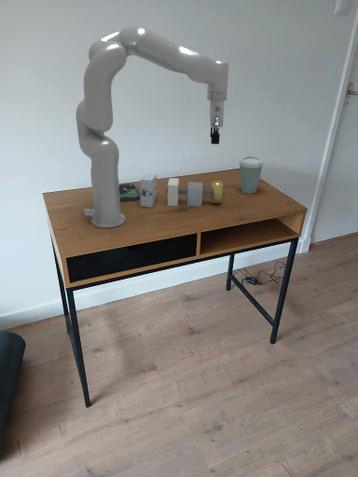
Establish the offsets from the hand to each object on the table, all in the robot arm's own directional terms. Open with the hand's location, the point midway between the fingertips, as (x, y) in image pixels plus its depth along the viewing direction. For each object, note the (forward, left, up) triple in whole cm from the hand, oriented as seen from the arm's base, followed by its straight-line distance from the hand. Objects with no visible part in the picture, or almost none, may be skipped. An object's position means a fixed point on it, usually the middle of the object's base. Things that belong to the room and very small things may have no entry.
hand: (214, 140), depth 148 cm
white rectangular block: (-16, -8, -24) cm, 30 cm away
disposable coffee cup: (+17, +8, -25) cm, 31 cm away
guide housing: (-7, -8, -24) cm, 27 cm away
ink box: (-26, -10, -25) cm, 37 cm away
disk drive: (-37, -3, -25) cm, 45 cm away
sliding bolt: (-7, -8, -23) cm, 25 cm away
